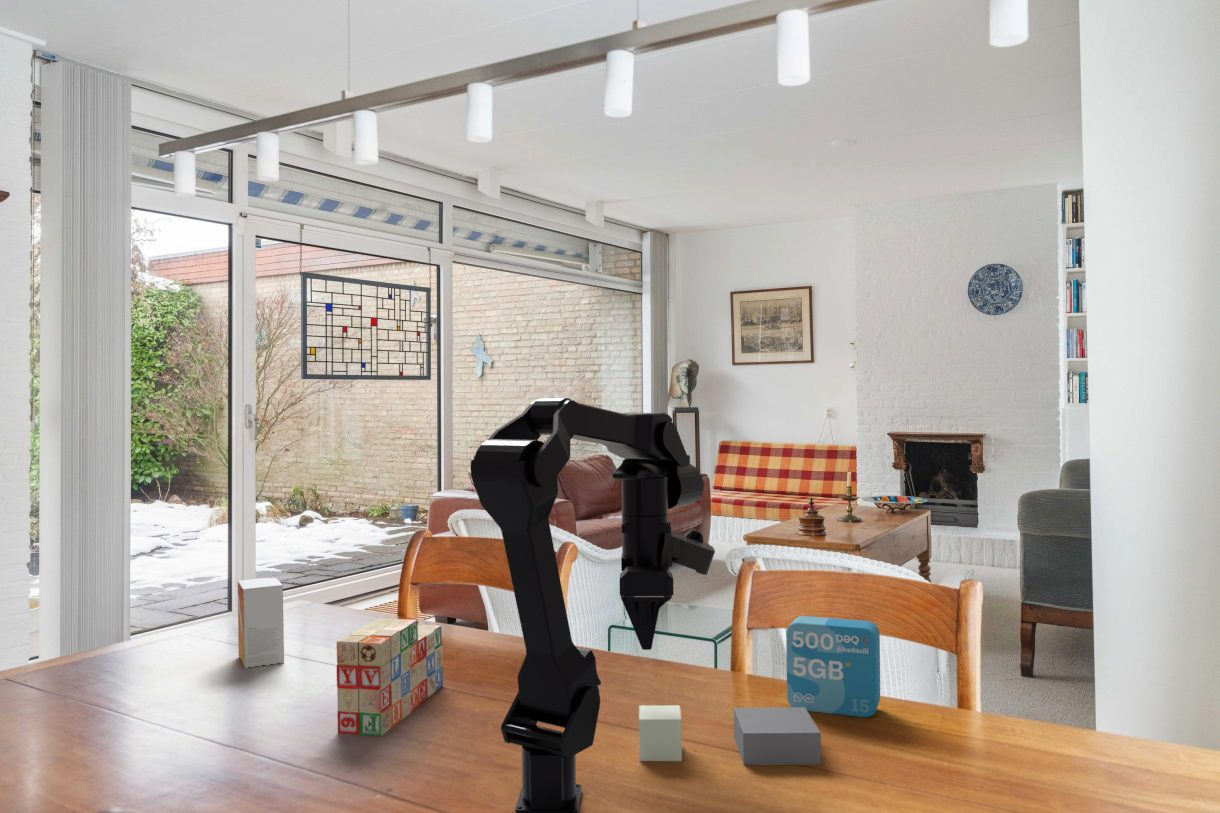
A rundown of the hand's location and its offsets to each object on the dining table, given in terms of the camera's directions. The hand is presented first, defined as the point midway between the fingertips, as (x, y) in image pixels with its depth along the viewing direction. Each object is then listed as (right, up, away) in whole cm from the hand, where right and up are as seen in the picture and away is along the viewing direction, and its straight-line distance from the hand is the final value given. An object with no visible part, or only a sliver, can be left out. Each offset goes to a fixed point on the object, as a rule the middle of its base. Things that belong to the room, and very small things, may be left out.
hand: (646, 639), depth 115 cm
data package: (+26, -13, +12) cm, 32 cm away
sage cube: (+2, -13, -3) cm, 14 cm away
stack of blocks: (-35, -14, +15) cm, 40 cm away
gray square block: (+16, -13, -2) cm, 21 cm away
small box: (-63, -14, +40) cm, 75 cm away
